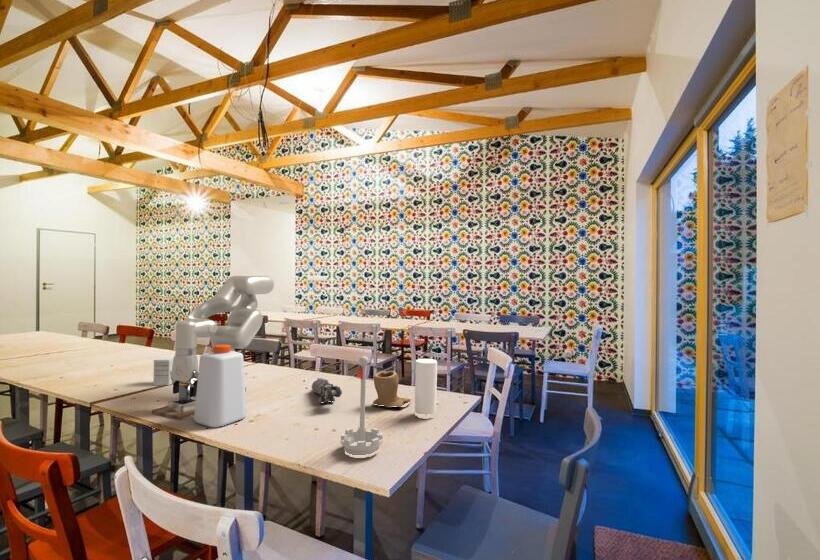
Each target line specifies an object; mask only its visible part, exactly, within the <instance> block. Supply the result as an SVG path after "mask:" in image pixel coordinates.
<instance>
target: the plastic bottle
mask: <svg viewBox="0 0 820 560" xmlns="http://www.w3.org/2000/svg"><path fill="white" fill-rule="evenodd" d="M244 361H245V360H244V354H243V353H242V352H239V351H231V346H230V345H226V344H223V345H215V346H214V347H213V348H212V351H210V352H206V353H205V352H204V353H202V354H201V355H200V356H199V362H198V383H197V393H196V396H195V398H196V403H195V413H194V415H193V420H194V422H195V423H197V424H199V425H202V426H205V427H208V428H221V427H220V426H222V427H225V426H228V425H230V423H231V424H234V423H236V422H235V421H237V422H238V420H240V421H242V420H244V419H245V418H246V416H247V405H246V403H247V402H246V400H247V399H246V391H245V387H246V383H245V366H244V364H245V363H244ZM243 418H244V419H243ZM241 419H242V420H241ZM233 422H234V423H233ZM227 424H228V425H227ZM224 425H225V426H224Z"/></svg>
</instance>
